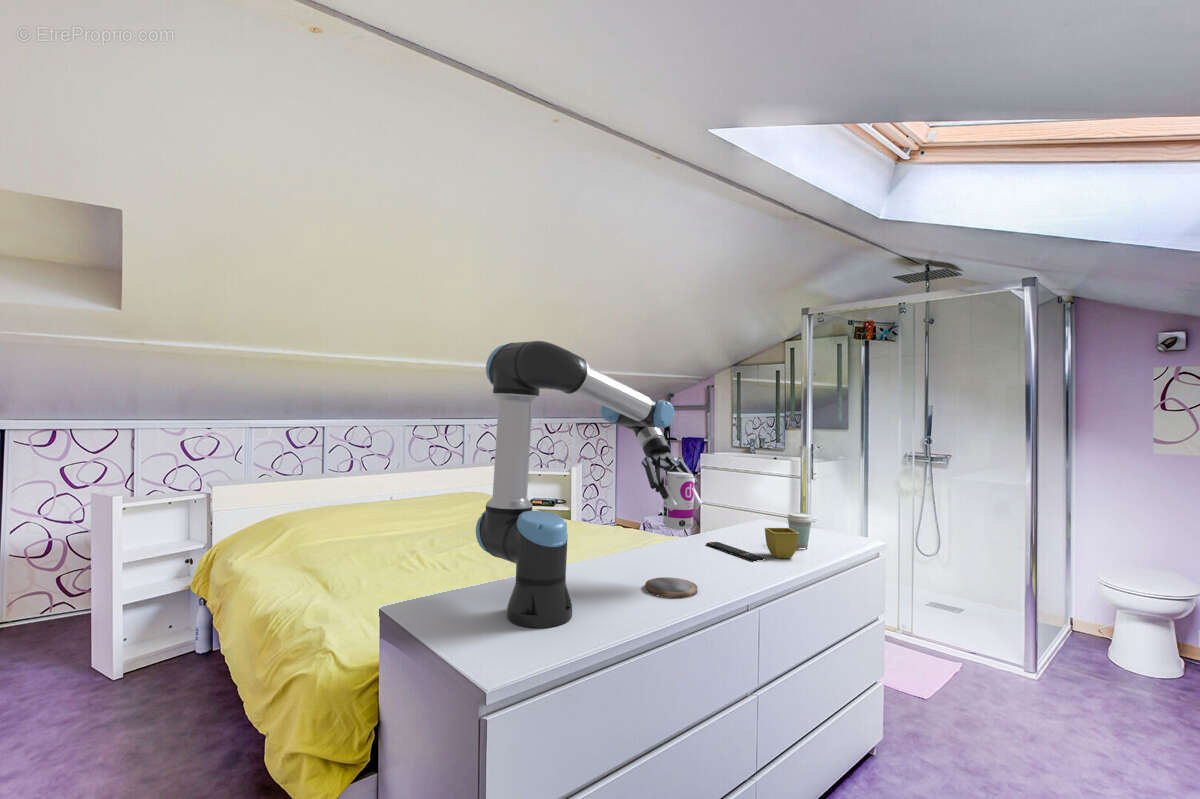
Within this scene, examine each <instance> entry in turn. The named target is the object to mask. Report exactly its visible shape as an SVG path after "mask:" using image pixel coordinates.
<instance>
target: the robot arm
mask: <svg viewBox="0 0 1200 799" xmlns="http://www.w3.org/2000/svg"><path fill="white" fill-rule="evenodd" d="M485 364H486V365H485V374H486V377H487V379H488V380H489V383H490V384H491V385H492V396H493V397H494V398H495V399H496V400H497V403H498V406H497V419H496V421H497V422H496V433H495V434H496V436H495V452H494V453H495V454H494V468H493V486H492V496H491V498H490V499H489V500H487V502H486V503H485V510H484V511H483V512H482V513H481V516H480V517H478V519H477V522H476V526H475V537H476V540H477V544H478V545H479V546H480V548H481V549H482V550H483V551H485V553H487V554H490V556H493V557H495V558H498V559H502V560H505V561H507V562H510V563H513V564H515V566H516V567H515V568H516V569H515V584H514V586H513V589H512V591H511V595H510V598H509V599H508V600H509V601H508V604H507V606H506V607H507V608H506V618H507V619H508V621H510V622H511V623H513V624H515V625H518V626H521V627H526V628H541V629H542V628H551V627H556V626H560V625H563V624H565V623H568V622H569V621H570V620H571V619H572V617H573V604H572V601H571V597H570V594H569V590H568V586H567V559H568V558H567V556H568V554H567V553H568V537H569V536H568V528H567V527H568V526H567V522H566V520H565V519H564V518H563V517H562V516H560V515H559V514H556V513H553V512H549V511H544V510H533V503H532V502H531V501H530V500H529V499H528V487H529V485H528V484H529V471H530V470H529V468H530V453H531V451H530V450H531V437H532V436H531V434H532V432H531V431H532V417H533V406H534V405H533V404H534V403H535V402H536V401H537V400H538V399H539V398H540V390H541V389H544V390H547V389H548V390H555V391H559V392H562V393H565V394H568V395H572V394H576V395H579V396H581V397H583V398H585V399H588V400H589V401H592V402H594V403H597V404H598V405H601V407H600V415H601V416H600V417H602V419H603V420H604V421H606V422H609V423H610V424H614V425H617V426H619V427H623V428H626V429H629V430H632V431H633V433H634V436H635V437H636V439H637V440H638V442H639V443H638V444H639V445H640V447H641V449H642V450H643V454H644V456H645V457H644V458H643V459H642V461H641V465H642V466H643V468H644V469H645V474H646V476H647V481H648V483H649V486H650V487H649V488H650V489H652V490H654V489H655V492H656V493H659V494H660V496H661V497H662V499H663V500H664V499H665V501H666V503H667V505H668V507H669V509H670V511H672V510H673V509H674V508H675V507H676V505H677V503H676V501H675V499H674V497H673V495H672V494H671V492H670V490H669V488H668V486H667V485H665V474H664V473H665V472H664V471H667V473H668V472H686V473H692V474H693V472H692V471H691V469H690V468H689V467H688V465H687V464H686V463H685V461H684V458H683V456H681V455H680V456H678V457H674V455H673V454H672V453H671V447H670V445H669V443H668V441H667V439H666V437H665V435H664V433H663V432H662V430H661V428H667V427H669V426H671V425H672V423H673V421H674V417H675V410H674V409H675V408H674V406H673V405H672V403H671V402H669V401H667V400H663V399H662V400H661V399H660V400H656V399H653V398H652V397H649V396H647V395H645V394H644V393H641V392H639V391H637V390H636V389H634V388H632V387H630V386H628V385H626V384H624V383H623V382H620V381H618V380H617V379H615V378H613V377H611V376H609V375H607V374H605V373H603V372H601V371H600V370H597V369H596V368H593V367H592V366H590V365H588V364H589V363H588V362H587V360H586V359H585V358H583V357H581V356H579V355H577V353H576V354H575V353H574V352H572V351H570V350H568V349H566V348H563V347H562V346H559V345H557V344H554V343H551V342H548V341H543V340H533V341H522V342H521V341H519V342H508V343H506V344H503V345H500V346H498V347H496V348H495V349H494V350H493V351H491V353H490V354H489V355H488V358H487V361H486V363H485ZM693 477H694V479H695V485H694V510H698V509H699V507H700V506H701V505H702V504H703V502H702V500H701V498H700V496H699V492H698V490H697V489H696V487H695V486H696V485H697V484H698V482H699V481H698V479H697V478H696V476H694V474H693Z"/></svg>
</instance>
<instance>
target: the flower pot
mask: <svg viewBox="0 0 1200 799" xmlns="http://www.w3.org/2000/svg"><path fill="white" fill-rule="evenodd" d="M764 534H765V543H766V546H767V549H768V551H769V553H770V554H771V556H773V555H774V556H773V557H775V558H776V557H779V558H778V559H791V558H793V556H794V554H795V553H796V551H797V550H798V549H797V544H798V537H799V533H798V532H796V531H794V530H792V529H790V528H789V527H764ZM790 557H791V558H790Z"/></svg>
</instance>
